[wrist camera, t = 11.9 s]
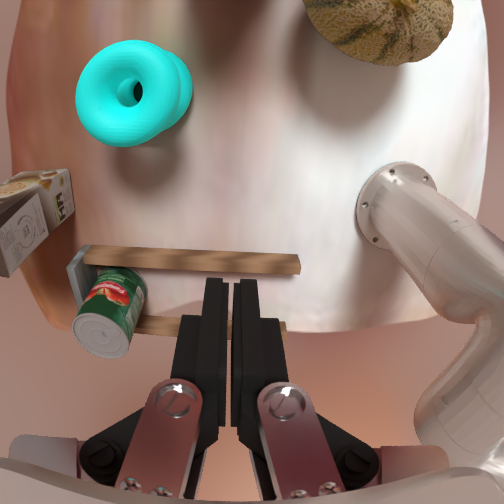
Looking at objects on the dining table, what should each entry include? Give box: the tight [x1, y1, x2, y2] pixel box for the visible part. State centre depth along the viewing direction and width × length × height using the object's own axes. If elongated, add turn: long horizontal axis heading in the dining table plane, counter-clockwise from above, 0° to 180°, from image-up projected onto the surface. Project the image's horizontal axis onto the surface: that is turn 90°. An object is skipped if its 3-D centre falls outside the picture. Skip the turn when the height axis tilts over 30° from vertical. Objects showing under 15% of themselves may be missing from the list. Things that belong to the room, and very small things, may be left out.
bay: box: [66, 245, 301, 341], centre depth 41 cm, size 30×13×6 cm, turn 86°
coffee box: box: [0, 169, 75, 278], centre depth 28 cm, size 9×6×16 cm
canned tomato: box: [72, 266, 147, 359], centre depth 38 cm, size 8×8×11 cm
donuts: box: [76, 40, 193, 147], centre depth 26 cm, size 10×10×10 cm
